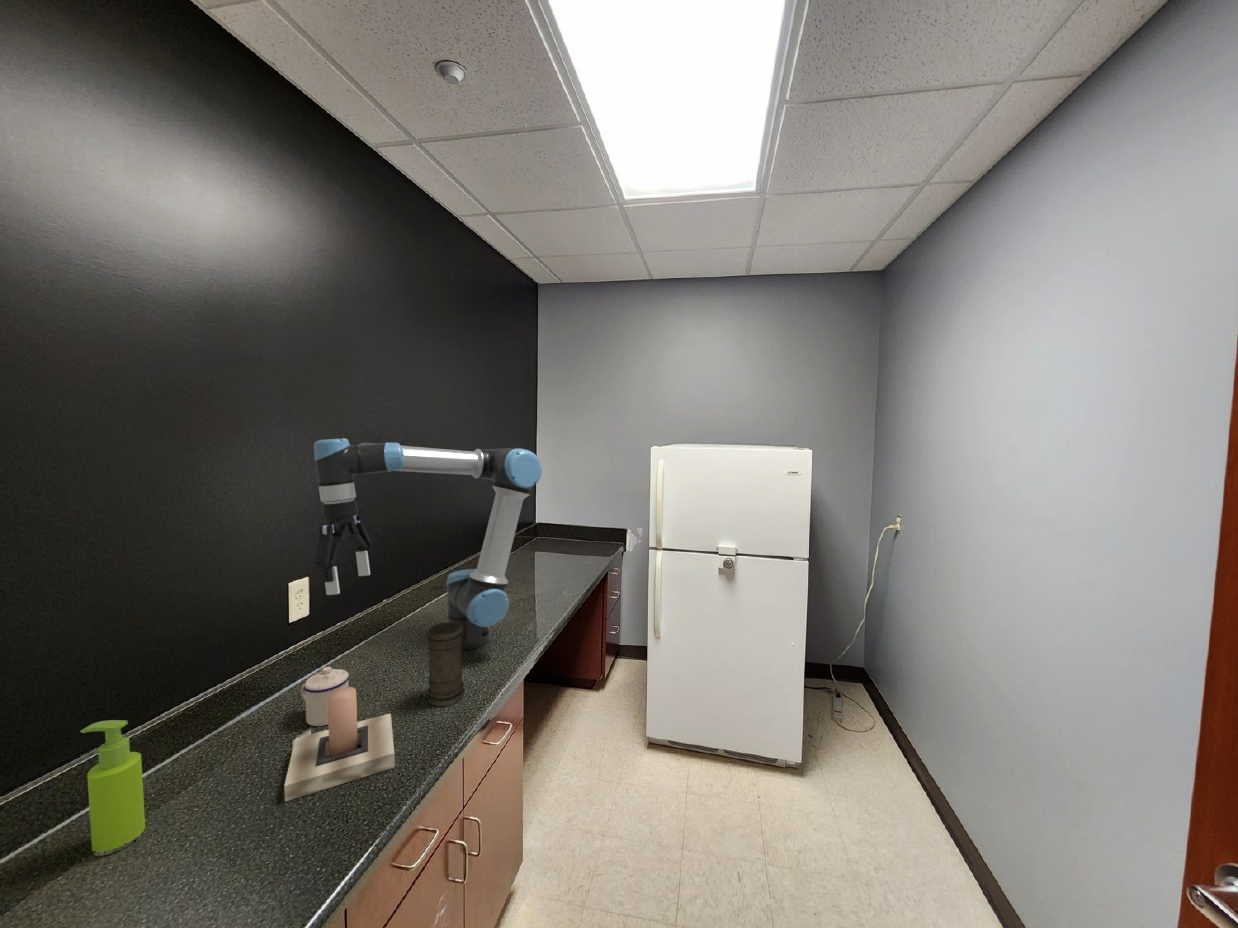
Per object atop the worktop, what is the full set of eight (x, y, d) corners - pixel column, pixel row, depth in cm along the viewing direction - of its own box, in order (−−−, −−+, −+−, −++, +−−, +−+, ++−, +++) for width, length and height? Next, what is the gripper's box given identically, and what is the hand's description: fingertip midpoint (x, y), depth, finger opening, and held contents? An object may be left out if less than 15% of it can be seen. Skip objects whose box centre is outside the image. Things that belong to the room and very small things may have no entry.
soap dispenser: (111, 826, 77) (104, 713, 76) (155, 823, 78) (149, 711, 77) (73, 858, 71) (65, 736, 70) (120, 855, 72) (113, 734, 71)
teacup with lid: (359, 707, 112) (357, 661, 111) (327, 730, 103) (325, 680, 102) (319, 700, 114) (318, 655, 114) (285, 722, 106) (283, 673, 105)
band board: (390, 725, 105) (390, 711, 104) (394, 767, 92) (394, 751, 91) (295, 751, 96) (295, 736, 96) (284, 801, 83) (284, 783, 83)
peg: (358, 747, 97) (356, 684, 96) (357, 762, 93) (356, 696, 92) (330, 755, 95) (328, 690, 94) (328, 771, 90) (326, 703, 89)
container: (452, 708, 111) (451, 637, 110) (419, 704, 113) (418, 634, 112) (471, 689, 120) (470, 622, 119) (440, 685, 122) (439, 619, 121)
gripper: (352, 494, 125) (362, 569, 127) (287, 511, 100) (301, 604, 102) (379, 492, 125) (389, 567, 127) (321, 509, 100) (334, 601, 102)
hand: (349, 584), depth 114 cm, fingers open, 13 cm apart
